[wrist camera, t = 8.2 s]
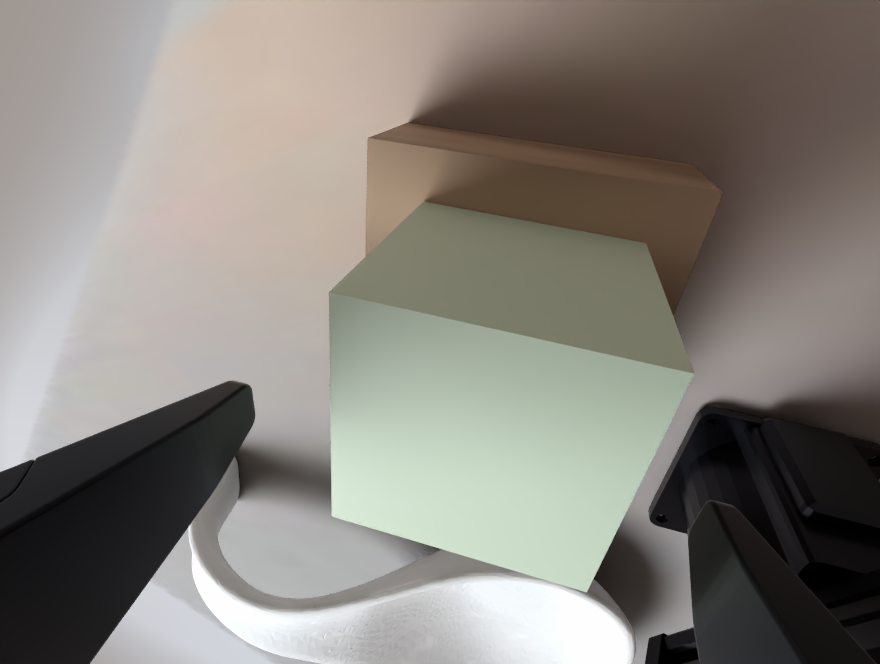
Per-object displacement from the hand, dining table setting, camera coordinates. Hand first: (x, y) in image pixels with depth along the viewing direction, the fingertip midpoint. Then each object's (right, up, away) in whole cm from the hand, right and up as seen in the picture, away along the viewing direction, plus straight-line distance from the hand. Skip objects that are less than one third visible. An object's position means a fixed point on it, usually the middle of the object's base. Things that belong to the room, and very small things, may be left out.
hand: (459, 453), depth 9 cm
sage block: (+2, +3, +5) cm, 6 cm away
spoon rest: (-2, -9, +18) cm, 20 cm away
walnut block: (+3, +5, +8) cm, 10 cm away
